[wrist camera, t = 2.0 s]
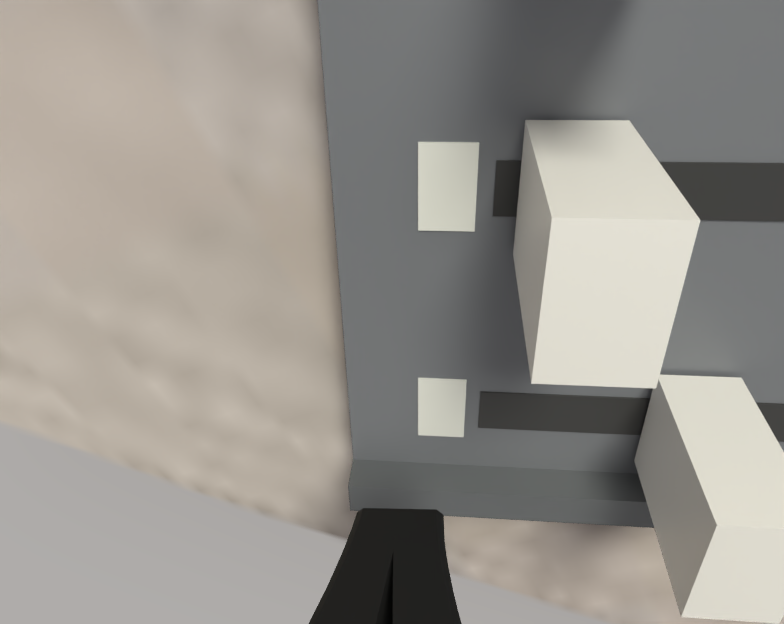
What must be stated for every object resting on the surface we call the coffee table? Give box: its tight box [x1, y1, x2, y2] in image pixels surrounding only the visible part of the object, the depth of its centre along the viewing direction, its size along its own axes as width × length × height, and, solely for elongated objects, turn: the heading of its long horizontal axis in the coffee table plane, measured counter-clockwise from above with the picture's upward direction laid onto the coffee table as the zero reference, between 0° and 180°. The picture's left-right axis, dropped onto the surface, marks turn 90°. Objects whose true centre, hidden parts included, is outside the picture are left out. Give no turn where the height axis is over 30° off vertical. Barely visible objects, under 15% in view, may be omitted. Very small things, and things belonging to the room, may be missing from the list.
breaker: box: [513, 120, 700, 389], centre depth 9 cm, size 2×2×4 cm
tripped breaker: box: [634, 375, 784, 624], centre depth 12 cm, size 2×2×4 cm
